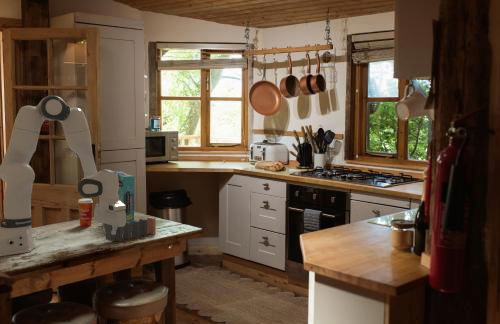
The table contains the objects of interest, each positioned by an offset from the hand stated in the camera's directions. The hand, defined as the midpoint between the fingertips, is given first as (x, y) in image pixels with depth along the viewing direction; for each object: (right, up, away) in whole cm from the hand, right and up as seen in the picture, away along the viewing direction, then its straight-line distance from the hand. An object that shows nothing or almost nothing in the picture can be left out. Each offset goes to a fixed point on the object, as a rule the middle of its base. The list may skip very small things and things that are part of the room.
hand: (109, 233), depth 258 cm
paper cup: (-21, -1, +34) cm, 40 cm away
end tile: (+16, -3, +19) cm, 25 cm away
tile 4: (+10, -3, +12) cm, 15 cm away
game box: (-3, 0, +41) cm, 41 cm away
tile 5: (+13, -3, +15) cm, 20 cm away
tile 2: (+3, -4, +4) cm, 6 cm away
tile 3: (+6, -4, +8) cm, 11 cm away
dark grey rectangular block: (0, -3, 0) cm, 3 cm away
